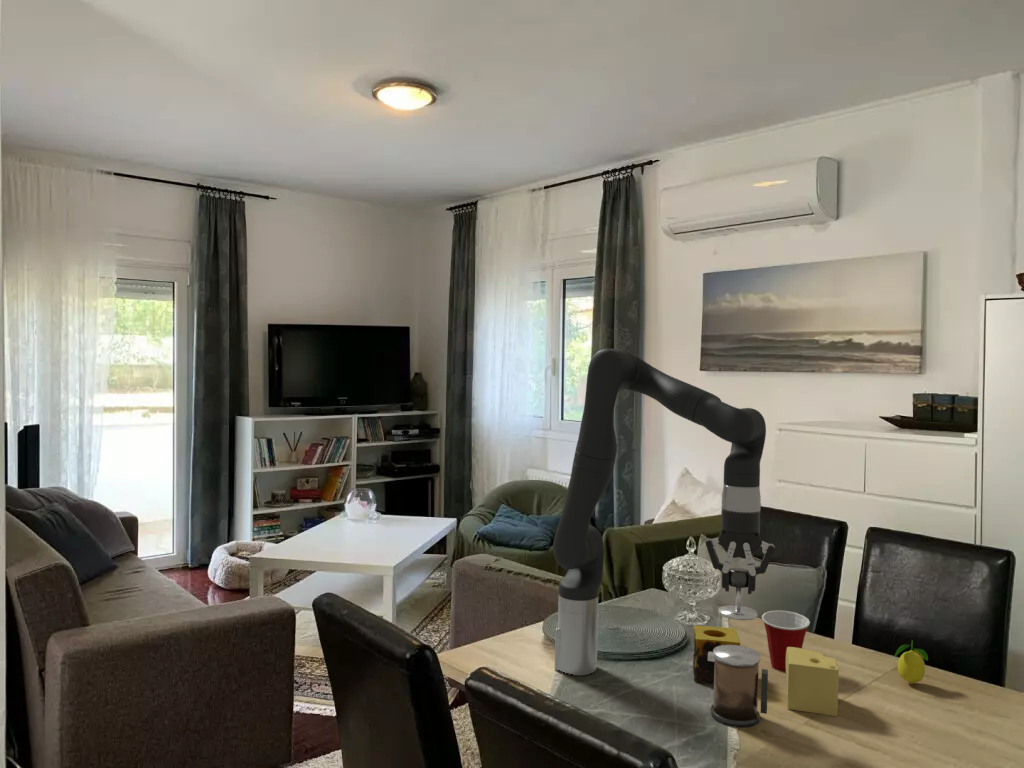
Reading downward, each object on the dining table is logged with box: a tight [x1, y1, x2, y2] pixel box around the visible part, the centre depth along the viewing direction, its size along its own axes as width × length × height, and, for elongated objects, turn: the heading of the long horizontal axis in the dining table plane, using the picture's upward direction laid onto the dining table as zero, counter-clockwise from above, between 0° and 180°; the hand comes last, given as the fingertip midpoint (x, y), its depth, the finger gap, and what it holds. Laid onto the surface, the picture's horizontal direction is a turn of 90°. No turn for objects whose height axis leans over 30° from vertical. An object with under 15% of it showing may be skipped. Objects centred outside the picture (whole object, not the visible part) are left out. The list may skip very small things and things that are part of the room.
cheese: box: [785, 647, 840, 717], centre depth 166 cm, size 10×11×10 cm
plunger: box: [717, 567, 758, 621], centre depth 159 cm, size 8×8×9 cm
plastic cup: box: [761, 610, 811, 673], centre depth 186 cm, size 11×11×12 cm
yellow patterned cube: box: [692, 624, 741, 685], centre depth 180 cm, size 10×10×10 cm
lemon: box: [894, 639, 929, 685], centre depth 178 cm, size 7×6×10 cm
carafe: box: [708, 645, 769, 728], centre depth 159 cm, size 12×10×13 cm
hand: (738, 591), depth 159 cm, fingers closed on plunger, 3 cm apart
